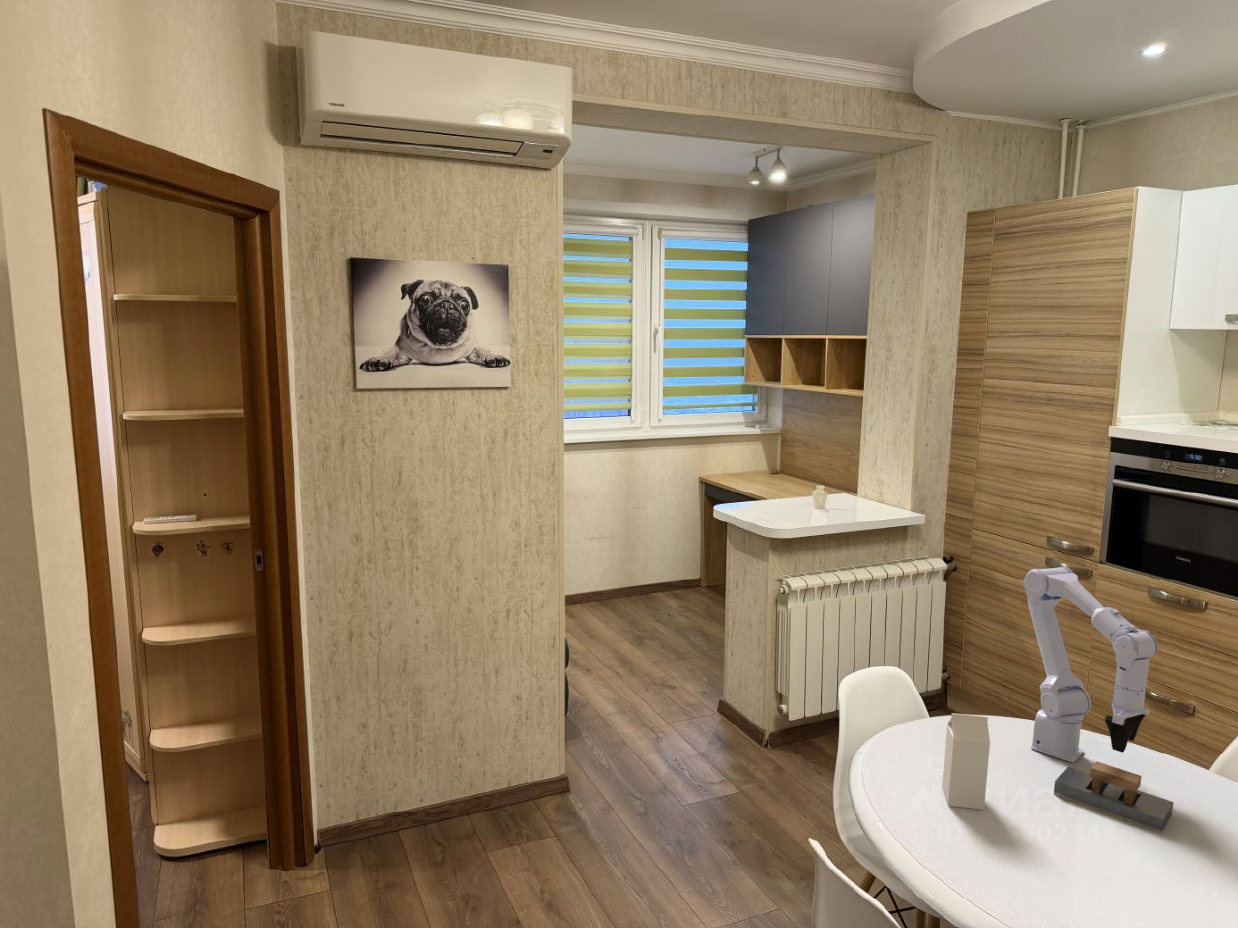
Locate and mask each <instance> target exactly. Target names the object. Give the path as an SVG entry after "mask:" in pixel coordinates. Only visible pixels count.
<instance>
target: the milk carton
mask: <svg viewBox="0 0 1238 928" xmlns="http://www.w3.org/2000/svg"><path fill="white" fill-rule="evenodd" d="M950 716H951V718H950V719H949V720H948V722H947V725H946V736H945V746H944V747H945V748H944V759H943V760H944V761H943V771H942V772H943V774H942V785H941V788H942V791H943V795H944V797H945V800H946V804H947V806H950V807H958V808H965V809H972V810H973V809H974V810H985V803H986V802H985V801H986V791H987V780H988V768H989V758H990V757H989V756H990V746H991V740H990V731H989V725H988V723H989V722H988V721H989V719H988V716H982V715H972V714H962V713H954V712H953V713H951V715H950Z"/></svg>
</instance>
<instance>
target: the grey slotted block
mask: <svg viewBox="0 0 1238 928" xmlns="http://www.w3.org/2000/svg"><path fill="white" fill-rule="evenodd" d="M1090 774H1091V773H1090V772H1089V773H1088V772H1085V771H1082V770H1080V769H1077V768H1074V767H1071V766H1067V767H1066V768H1065V769H1064V770H1063V772H1061V774H1060V775H1059V776H1058V777H1057V778H1056V779H1055V781H1054V787H1053V795H1055V796H1058V797H1061V798H1063V799H1066V800H1069V801H1071V802H1074V803H1077V804H1080V805H1083V806H1085V807H1088V808H1091V809H1094V810H1096V811H1099V812H1102V813H1104V814H1107V815H1110V816H1111V817H1112V816H1113V817H1116V818H1118V819H1120V820H1124V821H1126V822H1129V823H1132V824H1134V825H1138V826H1139V827H1143V828H1146V829H1149V830H1152V831H1153V832H1154V831H1155V832H1157V833H1160V834H1163V832H1164V831H1165V828H1166V827H1167V825H1168V824H1169V822H1170V820H1171V818H1172V817H1173V811H1174V809H1173V808H1174V804H1175V802H1174V801H1171V800H1168V799H1166V798H1163V797H1160V796H1156V795H1155V794H1154V795H1153V794H1150V793H1147V792H1144V791H1142V790H1139V789H1137V795H1136V803H1135V804H1134V805H1131V804H1128V803H1125V802H1124V793H1125V788H1122V787H1119V786H1116V785H1113V784H1111V783H1108V782H1105V783H1104V791H1103V792H1102V793H1101V794H1100V793H1097V792H1094V791H1091V790H1092V781H1093V777H1090Z"/></svg>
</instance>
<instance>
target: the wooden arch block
mask: <svg viewBox="0 0 1238 928" xmlns="http://www.w3.org/2000/svg"><path fill="white" fill-rule="evenodd" d="M1089 774H1090V777H1093V781H1092V790H1091V791H1094V792H1097V793H1100V794H1101V793H1102V792H1103V791H1104V783H1105V782H1108V783H1111V784H1113V785H1116V786H1119V787H1122V788H1125V793H1124V802H1125V803H1128V804H1131V805H1134V804H1135V803H1136V795H1137V790H1139V788H1140V787H1141V783H1142V775H1140V774H1137V773H1133V772H1130V771H1128V770H1125V769H1122V768H1119V767H1116V766H1113V765H1109V764H1108V763H1107V764H1106V763H1103V762H1100V761H1095V763H1094V764H1093V765H1092V766H1091V768H1090V773H1089Z"/></svg>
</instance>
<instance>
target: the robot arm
mask: <svg viewBox="0 0 1238 928" xmlns="http://www.w3.org/2000/svg"><path fill="white" fill-rule="evenodd" d="M1022 582H1023V586H1024V589H1025V593H1026V596H1027V606H1028V610H1029V614H1030V616H1031V621H1032V626H1033V629H1034V632H1035V637H1036V641H1037V644H1038V648H1039V652H1040V655H1041V660H1042V663H1043V667H1044V670H1045V675H1046V678H1045V680H1044V681H1043V682H1042V683H1041V684H1040V685H1039V690H1040V691H1039V692H1040V706H1041V708H1042V709H1039V710H1038V711H1037V713H1036V715H1035V719H1034V724H1033V725H1034V726H1033V736H1032V745H1031V747H1030V749H1031V750H1033V751H1037V752H1040V753H1043V754H1046V755H1048V756H1051V757H1055V758H1057V759H1060V760H1064V761H1067V762H1070V763H1076V761H1077V760H1078V759H1079V758H1080V757H1081V755H1083V753H1084V751H1085V750H1084V749H1082V748H1079V745H1080V737H1081V730H1082V729H1081V728H1082V720H1083V719H1085V715H1086V714H1088V713H1089V712H1091V709H1092V700H1091V697H1090V694H1089V692H1087V690H1086V688H1085V686H1084V682H1083V681H1082V680H1080V679H1079V677H1076V676H1075V675H1074V674H1073V673H1072V669H1071V665H1070V663H1069V658H1068V653H1067V651H1066V646H1065V644H1064V640H1063V636H1062V633H1061V628H1060V625H1059V621H1058V617H1057V613H1056V611H1055V608H1056V606H1058V604H1059V602H1060V601H1062V600H1063V599H1064V598H1066V599H1067V600H1069V601H1070V602H1071V603H1072V604H1074V605H1075V606H1076V607H1078V608H1079V609H1080V610H1081V611H1082V612H1084V613H1085V614H1087V615H1088V617H1091V625H1092V627H1094V628H1095V629H1096V631H1098V632H1099V633H1100V634H1101V635H1102V636H1103V637H1105V639H1107V640H1108V641H1109V642H1110V643H1111V644H1112V649H1113V652H1114V654H1115V663H1116V671H1115V680H1114V681H1115V682H1114V690H1113V697H1112V700H1111V709H1112V712H1113V714H1112V715H1108V714H1107V715H1106V716H1105V717H1104V722H1105V724H1106V726H1107V728H1108V732H1109V735H1110V743H1111V744H1110V745H1111V748H1112V750H1113V751H1116V752H1119V753H1122V754H1123V753H1124V752H1125V751H1126V749H1127V745H1128V743H1129V741H1131V742H1133V741H1134V740H1135V738H1136V736H1137V735H1138V731H1139V728H1140V726H1141V723H1142V722H1143V719H1144V718H1145V717H1146V716H1149V715H1150V712H1151V711H1150V709H1148V708H1145V698H1146V693H1147V692H1146V691H1147V683H1148V675H1149V674H1148V673H1149V666H1150V661H1151V660H1150V659H1151V658H1154V657H1155V656H1156V654H1157V653H1158V649H1159V647H1158V642H1157V640H1156V638H1155V636H1153V635H1152V633H1151V632H1150V631H1149V630H1144V629H1142V630H1141V629H1139V628H1137V627H1136V626H1135V625H1134V624H1131V623H1130V622H1129V621H1128V620H1127V619H1126V618H1125V617H1123V616H1122V615H1121V614H1120V611H1119V610H1118V609H1117V608H1113V607H1109V606H1108V607H1104V606H1103V605H1102V604H1101V603H1100V602H1099V601H1098V600H1097V599H1096V598H1095V597H1094V596H1093V595H1092V594H1091V593H1090V592H1089V591H1088V590H1087V589H1086V588H1085V587H1084V586H1083V585H1082V584H1081V583H1080V582H1079V576H1078V575H1077V574H1076V573H1074V572H1073V570H1071V569H1070V568H1069V567H1066V566H1059V567H1053V568H1052V567H1051V568H1039V569H1038V568H1032V569H1030V570H1029V571H1027V574H1026V576H1025V577H1024V579H1023V581H1022ZM1060 688H1062V689H1060ZM1063 688H1064V689H1063Z"/></svg>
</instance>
